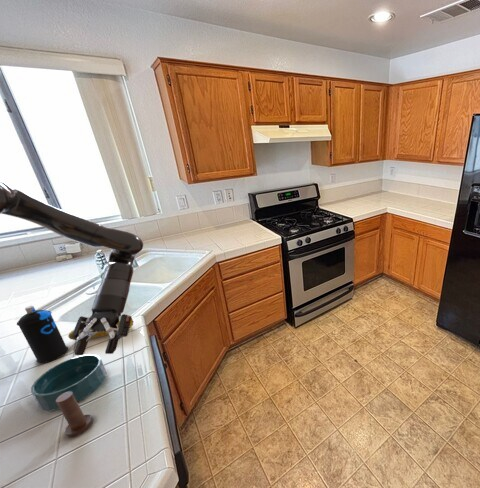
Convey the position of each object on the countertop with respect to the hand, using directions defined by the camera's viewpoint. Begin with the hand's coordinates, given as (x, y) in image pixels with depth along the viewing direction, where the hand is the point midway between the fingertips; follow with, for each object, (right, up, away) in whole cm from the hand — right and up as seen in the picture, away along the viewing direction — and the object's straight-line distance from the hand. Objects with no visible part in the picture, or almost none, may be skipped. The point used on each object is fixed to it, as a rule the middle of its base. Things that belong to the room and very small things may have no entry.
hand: (94, 354), depth 72 cm
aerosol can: (-34, -10, +22) cm, 41 cm away
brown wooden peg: (+1, -17, -5) cm, 17 cm away
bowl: (-12, -13, +7) cm, 19 cm away
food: (-24, -6, +31) cm, 40 cm away
